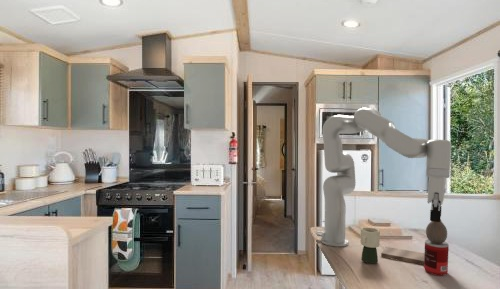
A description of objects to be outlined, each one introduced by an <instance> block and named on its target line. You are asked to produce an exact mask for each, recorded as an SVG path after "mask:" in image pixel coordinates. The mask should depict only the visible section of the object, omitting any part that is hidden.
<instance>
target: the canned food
mask: <svg viewBox="0 0 500 289" xmlns="http://www.w3.org/2000/svg"><path fill="white" fill-rule="evenodd" d="M424 253H425V255H424V265H423V268H424V270H425V272H426V273H428V274H431V275H434V276H439V277H440V276H446V275H447V274H448V272H449V243H448V242H446V241H445V242H443V243H441V244H437V243H432V242H430V241H429V239H428V238H427V239H425V240H424Z"/></svg>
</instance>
